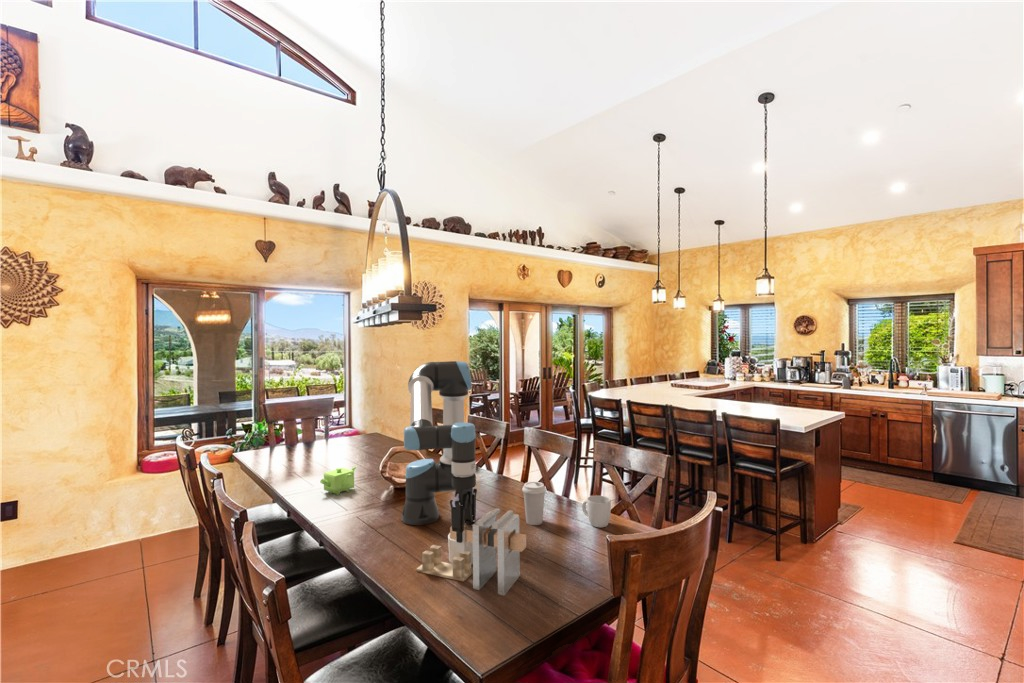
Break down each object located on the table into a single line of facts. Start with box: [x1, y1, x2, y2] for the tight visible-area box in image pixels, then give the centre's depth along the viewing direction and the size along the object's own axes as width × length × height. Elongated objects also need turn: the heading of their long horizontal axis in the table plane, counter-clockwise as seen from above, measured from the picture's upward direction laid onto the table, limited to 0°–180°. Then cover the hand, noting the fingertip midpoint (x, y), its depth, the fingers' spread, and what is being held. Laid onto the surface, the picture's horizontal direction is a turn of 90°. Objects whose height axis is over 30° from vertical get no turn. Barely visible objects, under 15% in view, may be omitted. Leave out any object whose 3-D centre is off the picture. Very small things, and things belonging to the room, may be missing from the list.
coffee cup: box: [521, 481, 547, 526], centre depth 187 cm, size 10×10×15 cm
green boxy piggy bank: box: [320, 465, 358, 496], centre depth 226 cm, size 15×14×11 cm
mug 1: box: [447, 532, 473, 565], centre depth 157 cm, size 13×10×8 cm
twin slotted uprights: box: [472, 507, 521, 596], centre depth 141 cm, size 10×12×20 cm
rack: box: [416, 544, 473, 582], centre depth 148 cm, size 17×7×6 cm, turn 67°
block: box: [449, 523, 527, 552], centre depth 142 cm, size 24×4×4 cm, turn 67°
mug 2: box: [581, 495, 612, 529], centre depth 185 cm, size 13×9×10 cm
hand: (464, 548), depth 145 cm, fingers closed on block, 4 cm apart
